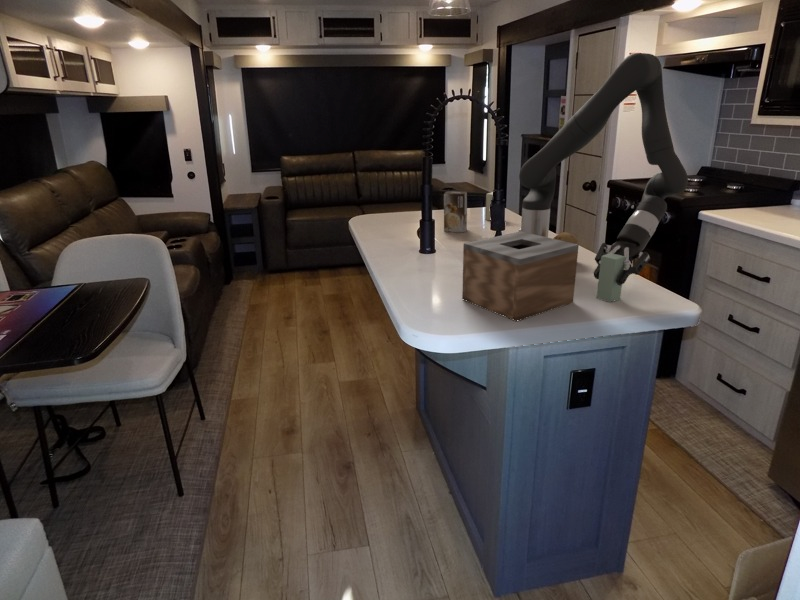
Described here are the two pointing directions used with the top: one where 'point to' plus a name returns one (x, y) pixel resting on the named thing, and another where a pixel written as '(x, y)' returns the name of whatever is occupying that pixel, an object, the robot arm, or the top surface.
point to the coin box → (519, 274)
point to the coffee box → (455, 211)
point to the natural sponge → (566, 237)
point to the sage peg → (610, 277)
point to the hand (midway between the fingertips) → (606, 280)
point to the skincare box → (488, 205)
